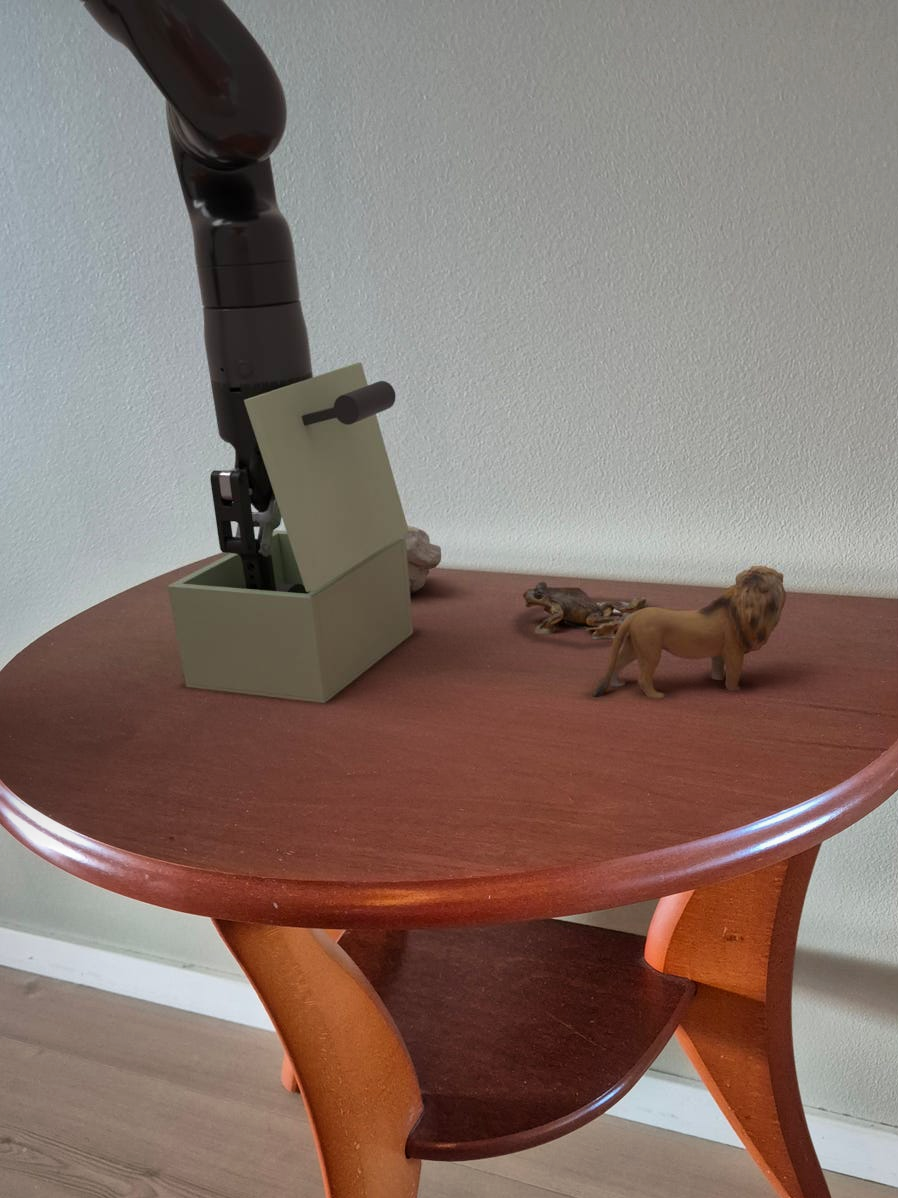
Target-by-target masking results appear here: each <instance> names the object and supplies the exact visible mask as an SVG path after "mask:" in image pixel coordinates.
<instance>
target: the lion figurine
mask: <svg viewBox="0 0 898 1198" xmlns="http://www.w3.org/2000/svg"><path fill="white" fill-rule="evenodd" d="M783 583H784V573H782V572H778V571H777V570H776V569H774V568H771V567H767V566H764V565H753V566H751V567H749V569H744V570H743V571H741V572H739V573H737V574H736V576H735V584H733V585H731V586H729V587H728V588H727V589H726V590H725V591H723V592H722V593H721V594H720V595H719V596H718V597H717V598H716V599H713V600H712V601H711V602H710V603H709V604H708V605H707V606H704V607H702V608H701V609H693V610H674V609H673V610H672V609H667V608H663V607H658V606H648V607H647V608H644V609H641V610H638V611H636V612H634V613H632V614H630V615H629V616H628V617H627V618H626V619H625V620H624V621H623V622H622V623H620V625H619V626H618V628H617V630H616V632H615V634H616V635H615V637H614V638H613V640H612V644H611V648H610V651H609V656H608V662H607V666H606V667H607V668H606V672H605V675H604V677H603V680H602V682H601V683H600V684H599V685H598V687H597V688H596V690H595V691H594V692H593V693H592V697H602V696H603V695H604V694H605V693H606V692H607V690H608V689H609V687H623V686H624V685H626V681H624V680H622V679H619V675H620V673H621V672H622V671H623V670H624V669H625V668H626V667H627V666H629V665H631V664H632V663H633V662H634V661H635V660H637V662H638V665H639V675H638V679H637V684H638V685H639V687H640V688H641V690H642V691H643V693H644V695H645V696H646V697H648V698H658V699H661V698H665V696H666V695H665V693H663V692H661V691H660V692H659V691H657V690H656V689H655V688H654V685H653V678H654V674H655V673H656V670H657V667H658V666H659V664H660V662H661V657H662V651H665V652H667V653H669V654H670V655H672V656H674V657H677V658H681V659H685V660H703V659H708V658H709V659H711V670H710V679H712V680H715V681H723V680H724V679H725V684H724V685H725V687H726V690H729V691H739V690H741V686H739V682H740V681H739V680H740V677H741V674H742V670H743V665H744V661H745V660H744V659H745V655H748V654H750V653H751V652H757V651H760V650H761V648H762V647H763V646H765V645H767V643H768V640H769V638H770V637H771V634H772V632H773V631H774V630H775V628H776V627H777V626H778V625H779V622H780V620H781V615H782V611H783V609H784V607H785V604H786V600H787V593H786V590H785V588H784V584H783ZM624 639H625V640H624ZM623 642H624V643H623ZM622 644H623V646H622ZM724 668H725V669H724ZM724 671H725V674H724Z"/></svg>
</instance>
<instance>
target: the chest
mask: <svg viewBox="0 0 898 1198" xmlns="http://www.w3.org/2000/svg"><path fill="white" fill-rule="evenodd" d="M268 554H271V556H272V563H273V570H274V577H275V583H291V584H302V585H304V584H303V581H302V577H301V574H300V571H299V568H298V565H297V562H296V559H295V556H294V553H293V550H292V547H291V544H290V541H289V537H288V534H287V531H286V530H278V529H274V531H273V535H272V540H271V545H270V550H269V553H268ZM244 584H245V577H244V571H243V564H242V559H241V557H240V555H238V554H234V553H227V555H225V556H223V557H221V558H219V559H217V560H215V561H213V562H211V563H209V564H206V565H205V566H204V567H203V566H202V567H201V568H199V569H197V570H196V571H194V572H192V573H190V574H188V575H186V576H183V577H182V578H180V579H178V580H176V581H174V582H172V583H170V584H169V585H167V592H168V596H169V602H170V607H171V612H172V618H173V623H174V628H175V635H176V639H177V646H178V650H179V655H180V660H181V666H182V671H183V676H184V682H185V687H186V688H194V689H202V690H211V691H217V692H219V691H220V692H228V693H237V694H243V695H244V694H245V695H254V696H261V697H270V698H271V697H272V698H279V699H287V700H295V701H305V702H312V703H313V702H314V703H321V704H325V703H327V702H328V701H329V700H331V699H332V698H333V697H334V696H336V695H337V694H338V693H339V692H340V691H342V690H343V689H344V688H346V687H347V686H348V685H350V684H351V683H352V682H353V681H354V680H356V679H357V678H359V676H361V675H362V674H364V673H365V672H366V671H367V670H368V669H370V668H371V667H373V665H374V664H376V663H377V662H379V661H380V660H381V659H382V658H383V657H385V656H386V655H387V654H389V653H390V652H391V651H392V650H393V649H395V648H396V647H397V646H399V644H401V643H402V642H404V641H405V640H406V639H408V638H410V636H411V635H413V633H414V625H413V614H412V613H413V612H412V601H411V600H412V599H411V593H410V588H409V575H408V563H407V551H406V539H405V538H398V539H397V540H395V541H393V542H392V543H390V544H389V545H387V546H385V547H384V548H382V549H381V550H379V551H377V552H376V553H374V554H373V555H371V556H369V557H368V558H366V559H365V560H363V561H361V562H360V563H358V564H357V565H355V566H353V567H352V568H350V569H349V570H347V571H345V572H344V573H342V574H341V575H339V576H338V577H336V578H334V579H333V580H331V581H330V582H328V583H326V584H325V585H323V586H322V587H320V588H318V589H317V590H315V591H310V592H309V593H308V594H303V593H290V592H278V591H266V590H254V589H241V587H242V585H244Z"/></svg>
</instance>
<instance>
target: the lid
mask: <svg viewBox="0 0 898 1198" xmlns="http://www.w3.org/2000/svg"><path fill="white" fill-rule="evenodd" d="M244 402H245V405H246V408H247V412H248V415H249V418H250V421H251V424H252V427H253V430H254V433H255V436H256V439H257V442H258V445H259V448H260V451H261V455H262V458H263V461H264V464H265V467H266V470H267V473H268V476H269V479H270V482H271V485H272V488H273V491H274V494H275V498H276V501H277V504H278V507H279V510H280V513H281V516H282V518H281V520H282V522H283V525H284V529H285V531H287V534H288V537H289V541H290V544H291V547H292V550H293V553H294V556H295V559H296V562H297V565H298V568H299V571H300V574H301V577H302V581H303V584H304V587H305V590H306V592H310V591H315V590H317V589H318V588H320V587H322V586H323V585H325V584H326V583H328V582H330V581H331V580H333V579H334V578H336V577H338V576H339V575H341V574H342V573H344V572H345V571H347V570H349V569H350V568H352V567H353V566H355V565H357V564H358V563H360V562H361V561H363V560H365V559H366V558H368V557H369V556H371V555H373V554H374V553H376V552H377V551H379V550H381V549H382V548H384V547H385V546H387V545H389V544H390V543H392V542H393V541H395V540H397V539H398V538H400V537H401V536H403V535H405V534H406V533H408V532H409V530H408V526H409V525H408V522H407V519H406V516H405V512H404V509H403V505H402V502H401V497H400V495H399V491H398V488H397V483H396V480H395V477H394V473H393V470H392V466H391V462H390V459H389V456H388V451H387V449H386V448H387V447H386V444H385V441H384V438H383V435H382V430H381V427H380V424H379V419H378V417H377V414H379V413H381V412H385V411H387V410H389V409H390V408H392V407H393V406H394V404H395V402H396V392H395V388H394V387H393V386H392V384H391V383H389V382H387V381H385V380H379V381H376V382H373V383H370V384H368V381H367V378H366V374H365V371H364V366H363V363H362V361H359V362H355V363H352V364H348V365H346V366H343V367H340V368H337V369H334V370H331V371H327V372H325V373H321V374H319V375H315V376H313V377H312V378H310V379H307V380H304V381H301V382H298V383H294V384H291V385H288V386H285V387H282V388H279V389H276V390H273V391H270V392H267V393H264V394H261V395H258V396H255V397H252V398H249V399H246V400H244ZM407 525H408V526H407Z"/></svg>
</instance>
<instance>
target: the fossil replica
mask: <svg viewBox="0 0 898 1198" xmlns="http://www.w3.org/2000/svg"><path fill="white" fill-rule="evenodd" d="M407 526H408V530H409V532H408V533H406V534H405V535H403V536H401V537H400V538H405V539H406V551H407V563H408V575H409V588H410V594H412V593H416V592H417V591H419V590H420V589H422V588H423V587H424V586H425V584H426V582H427V576H428V575H430V570H431V569H435V568H437V566H439V565H440V563H441V561H442V548H441V546H440V545H436V544H433V543H430V542H431V540H430V536H429V534H428V533H427V532H426V531H424V530H423V529H421V528H418V527H416V526H411V525H408V524H407Z"/></svg>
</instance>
